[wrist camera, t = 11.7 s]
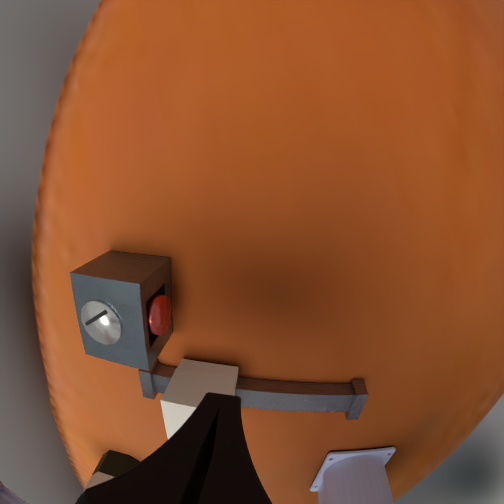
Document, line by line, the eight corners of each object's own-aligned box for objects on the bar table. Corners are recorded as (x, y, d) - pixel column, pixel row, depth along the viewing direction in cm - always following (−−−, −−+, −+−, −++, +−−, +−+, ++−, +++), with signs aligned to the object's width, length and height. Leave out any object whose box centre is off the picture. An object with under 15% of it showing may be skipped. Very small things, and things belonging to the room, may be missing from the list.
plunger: (172, 323, 19) (159, 343, 17) (119, 314, 19) (102, 330, 17) (170, 289, 18) (156, 306, 16) (116, 281, 19) (97, 295, 16)
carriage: (235, 407, 22) (227, 453, 17) (185, 399, 23) (168, 442, 18) (238, 364, 21) (228, 412, 16) (181, 356, 21) (160, 400, 16)
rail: (353, 403, 22) (357, 419, 20) (151, 382, 23) (143, 396, 21) (363, 379, 21) (368, 394, 19) (147, 356, 22) (138, 370, 20)
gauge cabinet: (172, 332, 21) (147, 374, 16) (117, 321, 21) (83, 356, 16) (170, 257, 20) (136, 286, 14) (109, 250, 20) (67, 274, 15)
